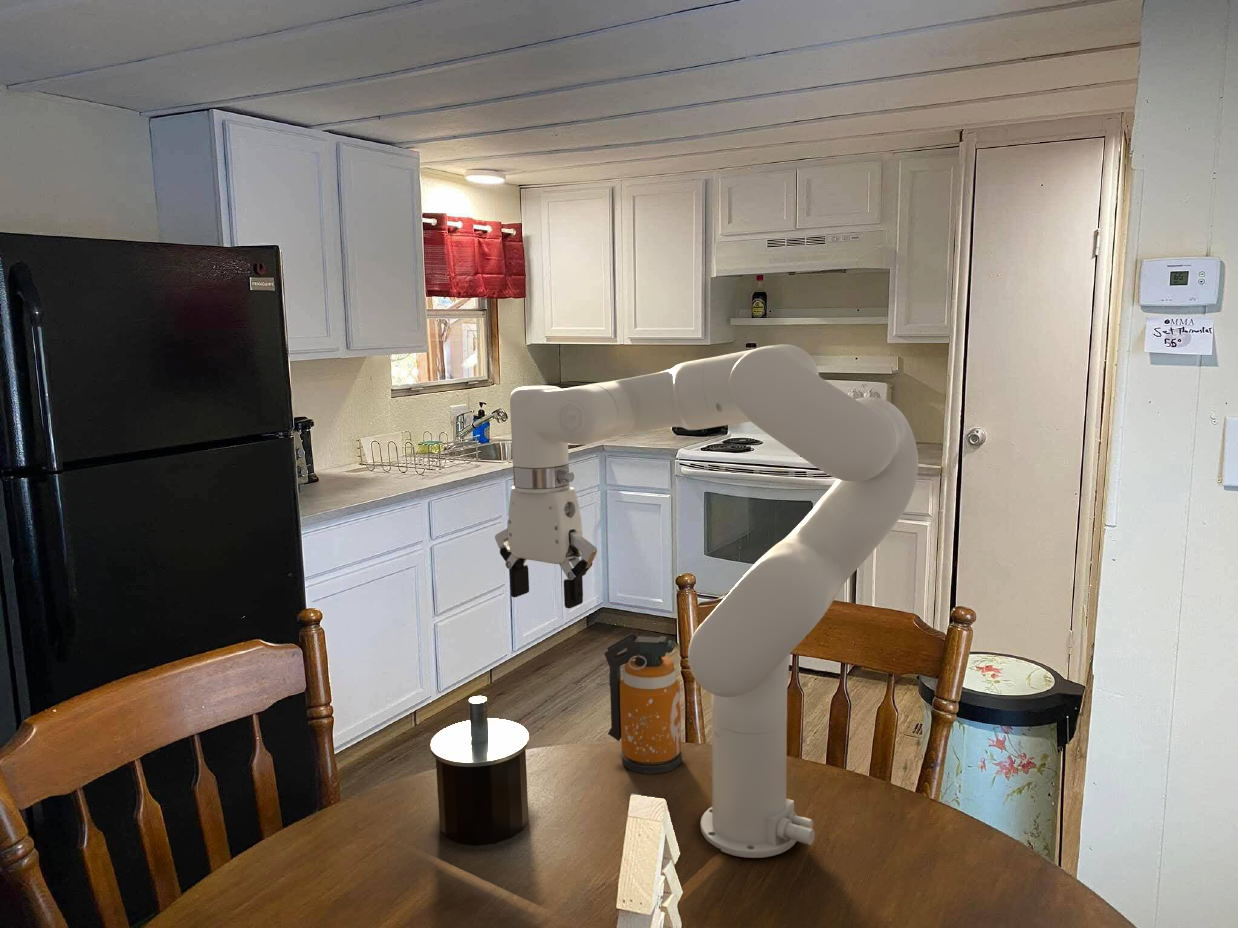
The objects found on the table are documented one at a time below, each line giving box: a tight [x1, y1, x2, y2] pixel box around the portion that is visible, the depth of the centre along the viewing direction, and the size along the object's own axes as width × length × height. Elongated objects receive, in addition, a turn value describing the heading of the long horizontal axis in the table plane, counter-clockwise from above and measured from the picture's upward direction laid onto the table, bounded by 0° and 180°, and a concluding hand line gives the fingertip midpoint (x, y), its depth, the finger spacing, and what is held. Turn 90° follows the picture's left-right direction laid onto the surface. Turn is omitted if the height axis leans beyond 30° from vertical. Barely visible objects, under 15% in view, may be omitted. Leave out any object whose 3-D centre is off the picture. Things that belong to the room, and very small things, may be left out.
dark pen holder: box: [435, 748, 530, 847], centre depth 121 cm, size 12×12×12 cm
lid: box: [430, 695, 530, 767], centre depth 119 cm, size 13×13×7 cm
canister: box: [603, 632, 682, 774], centre depth 136 cm, size 9×11×20 cm
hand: (546, 600), depth 125 cm, fingers open, 9 cm apart
